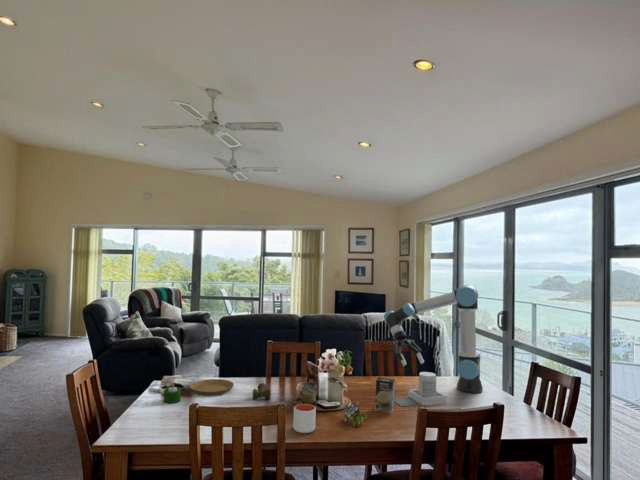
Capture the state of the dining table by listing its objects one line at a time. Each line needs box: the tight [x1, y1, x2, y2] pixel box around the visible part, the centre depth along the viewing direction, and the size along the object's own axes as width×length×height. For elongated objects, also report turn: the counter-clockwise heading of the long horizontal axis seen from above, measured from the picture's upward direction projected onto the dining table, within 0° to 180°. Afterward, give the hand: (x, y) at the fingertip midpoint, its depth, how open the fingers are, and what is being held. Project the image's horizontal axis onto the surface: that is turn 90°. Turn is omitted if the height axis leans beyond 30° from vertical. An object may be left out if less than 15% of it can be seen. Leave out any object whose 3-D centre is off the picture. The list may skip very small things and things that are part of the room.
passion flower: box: [342, 401, 368, 428], centre depth 207 cm, size 11×11×12 cm
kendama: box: [252, 382, 272, 400], centre depth 240 cm, size 6×10×20 cm
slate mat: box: [394, 397, 421, 407], centre depth 240 cm, size 12×12×1 cm
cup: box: [292, 403, 317, 434], centre depth 197 cm, size 10×10×10 cm
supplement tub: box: [418, 371, 437, 398], centre depth 244 cm, size 10×10×15 cm
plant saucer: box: [190, 378, 235, 397], centre depth 248 cm, size 24×24×3 cm
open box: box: [408, 388, 448, 406], centre depth 244 cm, size 15×15×4 cm
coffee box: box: [374, 376, 396, 415], centre depth 225 cm, size 9×6×16 cm
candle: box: [163, 381, 182, 405], centre depth 228 cm, size 8×8×10 cm
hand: (414, 363), depth 255 cm, fingers open, 13 cm apart
